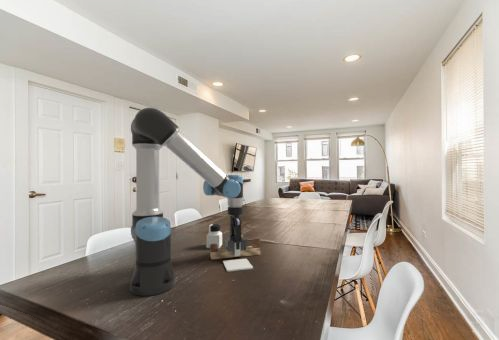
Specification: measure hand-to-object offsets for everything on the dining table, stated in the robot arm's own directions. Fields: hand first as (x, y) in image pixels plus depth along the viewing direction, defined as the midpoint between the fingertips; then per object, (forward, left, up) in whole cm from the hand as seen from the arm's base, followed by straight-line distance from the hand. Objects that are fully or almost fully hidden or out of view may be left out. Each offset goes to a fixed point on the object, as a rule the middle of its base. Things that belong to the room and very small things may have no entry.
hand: (235, 252), depth 118 cm
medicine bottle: (+17, +8, -1) cm, 19 cm away
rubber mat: (-13, +2, -1) cm, 13 cm away
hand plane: (0, 0, -1) cm, 1 cm away
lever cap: (0, 0, +2) cm, 2 cm away
